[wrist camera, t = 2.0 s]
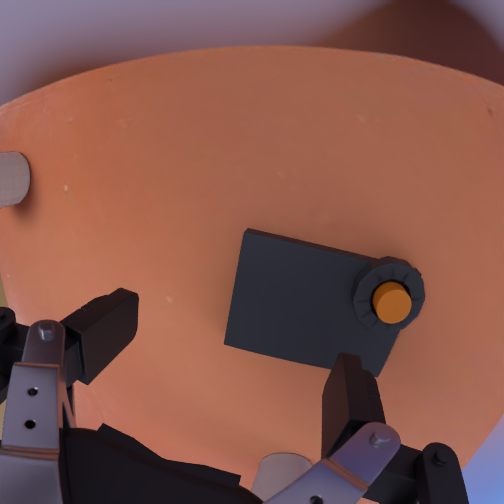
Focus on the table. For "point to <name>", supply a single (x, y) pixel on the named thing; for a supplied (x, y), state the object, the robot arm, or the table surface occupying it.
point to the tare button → (391, 302)
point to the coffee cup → (278, 473)
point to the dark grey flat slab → (315, 302)
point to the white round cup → (13, 178)
